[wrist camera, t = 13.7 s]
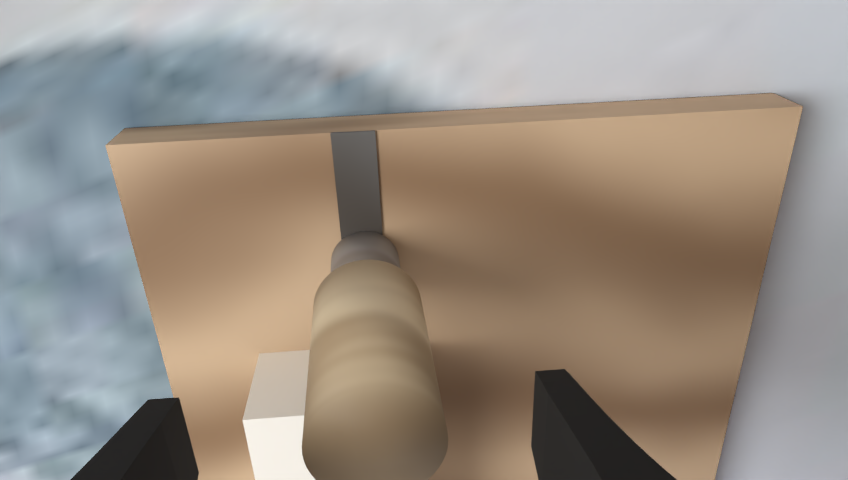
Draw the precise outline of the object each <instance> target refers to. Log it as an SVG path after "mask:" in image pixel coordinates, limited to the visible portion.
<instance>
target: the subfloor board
mask: <svg viewBox="0 0 848 480" xmlns="http://www.w3.org/2000/svg"><path fill="white" fill-rule="evenodd" d="M802 108H803V106H801V105H799V104H796V103H794V102H792V101H790V100H787V99H785V98H783V97H781V96H779V95H776V94H774V93H765V94H746V95H728V96H709V97H691V98H673V99H654V100H636V101H618V102H599V103H581V104H562V105H544V106H526V107H507V108H489V109H471V110H452V111H434V112H416V113H397V114H379V115H360V116H342V117H324V118H305V119H287V120H269V121H250V122H232V123H213V124H195V125H177V126H158V127H140V128H125V129H123V130H122V131H121V132H120V133H119V134H118V135H117V136H115V137H114V138H113V139H112V140H111V141H110V142H109V143H108V144H106V149H107V153H108V156H109V160H110V164H111V167H112V171H113V175H114V178H115V182H116V186H117V190H118V193H119V197H120V201H121V204H122V208H123V212H124V215H125V219H126V223H127V226H128V230H129V234H130V238H131V241H132V245H133V249H134V252H135V256H136V260H137V263H138V267H139V271H140V275H141V278H142V282H143V286H144V289H145V293H146V297H147V300H148V304H149V308H150V311H151V315H152V319H153V323H154V326H155V330H156V334H157V337H158V341H159V345H160V348H161V352H162V356H163V360H164V363H165V367H166V371H167V374H168V378H169V382H170V385H171V389H172V393H173V396H174V398H178V397H179V399H180V403H181V406H182V410H183V414H184V418H185V421H186V425H187V429H188V433H189V437H190V440H191V444H192V448H193V452H194V456H195V459H196V463H197V467H198V471H199V475H198V480H255V477H254V472H253V467H252V463H251V458H250V453H249V449H248V444H247V439H246V434H245V430H244V425H243V416H244V412H245V408H246V404H247V400H248V396H249V392H250V388H251V384H252V380H253V376H254V372H255V368H256V364H257V360H258V356H259V353H273V352H287V351H301V350H310V341H311V329H312V317H313V305H314V298H315V294H316V292H317V289H318V287H319V286H320V284H321V282H322V281H323V280H324V279H325V278H326V277H327V276H328V275H329V274H330V273H331V257H332V253H333V251H334V249H335V247H336V245H337V244H338V243H339V242H340V241H341V240H342V239H343V238H345V237H346V236H348V235H350V234H353V233H356V232H361V231H370V232H376V233H379V234H381V235H383V236H385V237H386V238H388V239H389V240H390V241H391V242H392V243H393V244H394V246H395V247H396V249H397V252H398V255H399V261H400V268H401V269H402V270H403V271H405V272H406V273H407V274H408V275H409V276H410V277H411V278H412V279H413V281H414V282H415V284H416V285H417V287H418V290H419V293H420V296H421V301H422V306H423V311H424V316H425V321H426V326H427V331H428V336H429V341H430V346H431V351H432V356H433V361H434V366H435V371H436V376H437V381H438V386H439V391H440V396H441V401H442V406H443V411H444V417H445V422H446V427H447V432H448V448H447V452H446V455H445V458H444V460H443V462H442V464H441V465H440V467H439V468H438V469H437V471H436V472H435V473H434V474H433V475H432V476H431V477H430V478H429V479H428V480H538V475H537V471H536V466H535V462H534V457H533V453H532V448H531V438H532V420H533V401H534V383H535V371H543V370H557V369H565V370H566V371H567V372H568V373H570V375H571V376H572V377H573V378H574V379H575V380H576V381H577V382H578V384H579V385H580V386H581V387H582V388H583V389H584V390H585V391H586V392H587V394H588V395H589V396H590V397H591V398H592V399H593V400H594V401H595V402H596V403H597V404H598V405H599V406H600V408H601V409H602V410H603V411H604V412H605V413H606V414H607V415H608V416H609V417H610V418H611V419H612V420H613V421H614V422H615V423H616V424H617V425H618V426H619V427H620V428H621V429H622V430H623V431H624V432H625V433H626V434H627V435H628V436H629V437H630V438H631V439H632V440H633V441H634V442H635V443H636V444H637V445H638V446H639V447H641V448H642V449H643V450H644V451H645V452H646V453H647V454H648V455H649V456H650V457H651V458H653V459H654V460H655V461H656V462H657V463H658V464H659V465H660V466H662V467H663V468H664V469H665V470H666V471H667V472H668V473H670V474H671V475H672V476H673V477H674V478H676V479H677V480H715V476H716V472H717V467H718V463H719V459H720V455H721V451H722V446H723V442H724V438H725V434H726V429H727V425H728V421H729V417H730V413H731V408H732V404H733V400H734V396H735V391H736V387H737V383H738V379H739V375H740V370H741V366H742V362H743V358H744V353H745V349H746V345H747V341H748V337H749V332H750V328H751V324H752V320H753V315H754V311H755V307H756V303H757V299H758V294H759V290H760V286H761V282H762V277H763V273H764V269H765V265H766V261H767V256H768V252H769V248H770V244H771V239H772V235H773V231H774V227H775V222H776V218H777V214H778V210H779V206H780V201H781V197H782V193H783V189H784V184H785V180H786V176H787V172H788V168H789V163H790V159H791V155H792V151H793V146H794V142H795V138H796V134H797V130H798V125H799V121H800V117H801V113H802Z"/></svg>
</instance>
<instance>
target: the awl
mask: <svg viewBox="0 0 848 480" xmlns="http://www.w3.org/2000/svg"><path fill="white" fill-rule="evenodd" d="M447 448H448V432H447V427H446V422H445V417H444V411H443V406H442V401H441V396H440V391H439V386H438V381H437V376H436V371H435V366H434V361H433V356H432V351H431V346H430V341H429V336H428V331H427V326H426V321H425V316H424V311H423V306H422V301H421V296H420V293H419V290H418V287H417V285H416V284H415V282H414V281H413V279H412V278H411V277H410V276H409V275H408V274H407V273H406V272H405V271H403V270H402V269H401V268H400V261H399V255H398V252H397V249H396V247H395V246H394V244H393V243H392V242H391V241H390V240H389V239H388V238H386V237H385V236H383V235H381V234H379V233H376V232H370V231H361V232H356V233H353V234H350V235H348V236H346V237H345V238H343V239H342V240H341V241H340V242H339V243H338V244H337V245H336V247H335V249H334V251H333V253H332V257H331V273H330V274H329V275H328V276H327V277H326V278H325V279H324V280H323V281H322V282H321V284H320V286H319V287H318V289H317V292H316V294H315V298H314V305H313V317H312V329H311V341H310V353H309V365H308V378H307V390H306V402H305V414H304V426H303V438H302V456H303V460H304V463H305V465H306V467H307V469H308V471H309V472H310V474H311V475H312V476H313V477H314V478H315V479H316V480H428V479H429V478H430V477H431V476H432V475H433V474H434V473H435V472H436V471H437V469H438V468H439V467H440V465H441V464H442V462H443V460H444V458H445V455H446V452H447Z"/></svg>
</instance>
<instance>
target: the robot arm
mask: <svg viewBox="0 0 848 480" xmlns="http://www.w3.org/2000/svg"><path fill="white" fill-rule="evenodd" d="M531 448H532V453H533V457H534V462H535V466H536V471H537V475H538V480H677V479H676V478H674V477H673V476H672V475H671V474H670V473H668V472H667V471H666V470H665V469H664V468H663V467H662V466H660V465H659V464H658V463H657V462H656V461H655V460H654V459H653V458H651V457H650V456H649V455H648V454H647V453H646V452H645V451H644V450H643V449H642V448H641V447H639V446H638V445H637V444H636V443H635V442H634V441H633V440H632V439H631V438H630V437H629V436H628V435H627V434H626V433H625V432H624V431H623V430H622V429H621V428H620V427H619V426H618V425H617V424H616V423H615V422H614V421H613V420H612V419H611V418H610V417H609V416H608V415H607V414H606V413H605V412H604V411H603V410H602V409H601V408H600V406H599V405H598V404H597V403H596V402H595V401H594V400H593V399H592V398H591V397H590V396H589V395H588V394H587V392H586V391H585V390H584V389H583V388H582V387H581V386H580V385H579V384H578V382H577V381H576V380H575V379H574V378H573V377H572V376H571V375H570V373H568V372H567V371H566V370H565V369H557V370H543V371H535V383H534V401H533V420H532V438H531ZM198 475H199V471H198V467H197V463H196V459H195V456H194V452H193V448H192V444H191V440H190V437H189V433H188V429H187V425H186V421H185V418H184V414H183V410H182V406H181V403H180V399H179V397H178V398H164V399H151V400H148V401H147V402H146V403H145V404H144V405H143V406H142V407H141V408H140V409H139V410H138V411H137V412H136V413H135V414H134V415H133V416H132V417H131V418H130V419H129V420H128V421H127V422H126V423H125V424H124V425H123V426H122V427H121V428H120V429H119V431H118V432H117V433H116V434H115V435H114V436H113V437H112V438H111V439H110V440H109V441H108V442H107V443H106V444H105V445H104V446H103V447H102V448H101V449H100V450H99V451H98V453H97V454H96V455H95V456H94V457H93V458H92V459H91V460H90V461H89V462H88V463H87V464H86V465H85V466H84V467H83V468H82V469H81V470H80V471H79V472H78V473H77V474H76V475H75V476H74V477H73V478H72V479H71V480H198Z"/></svg>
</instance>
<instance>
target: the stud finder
mask: <svg viewBox="0 0 848 480" xmlns="http://www.w3.org/2000/svg"><path fill="white" fill-rule="evenodd" d="M309 353H310V350H301V351H287V352H273V353H259V356H258V360H257V364H256V368H255V372H254V376H253V380H252V384H251V388H250V392H249V396H248V400H247V404H246V408H245V412H244V416H243V425H244V430H245V434H246V439H247V444H248V449H249V453H250V458H251V463H252V467H253V472H254V477H255V480H316V479H315V478H314V477H313V476H312V475H311V474H310V472H309V471H308V469H307V467H306V465H305V463H304V460H303V456H302V438H303V426H304V414H305V402H306V390H307V378H308V365H309Z"/></svg>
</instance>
